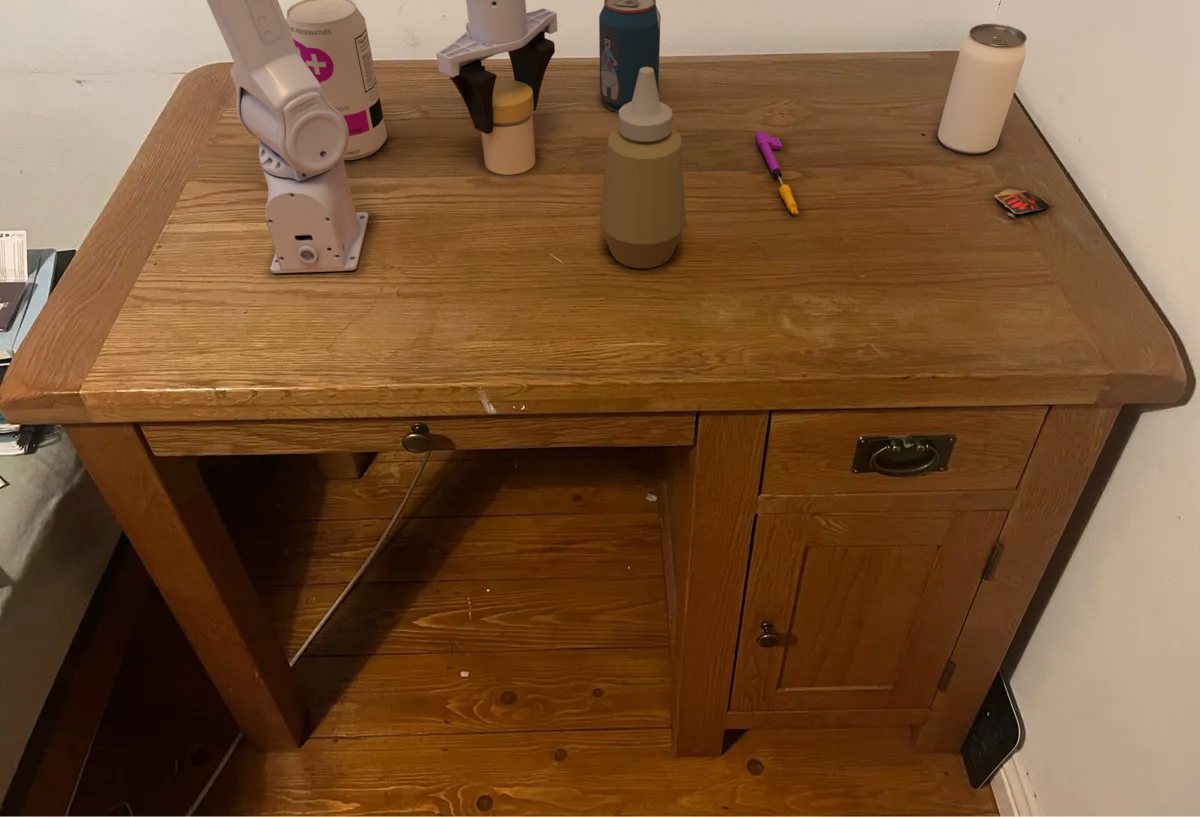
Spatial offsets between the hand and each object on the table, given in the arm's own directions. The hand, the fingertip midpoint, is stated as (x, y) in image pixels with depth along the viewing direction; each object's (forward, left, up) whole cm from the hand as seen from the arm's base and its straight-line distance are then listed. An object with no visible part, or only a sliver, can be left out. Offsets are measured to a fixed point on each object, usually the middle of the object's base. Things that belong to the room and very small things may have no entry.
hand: (506, 119), depth 97 cm
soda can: (+13, -14, -5) cm, 20 cm away
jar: (0, 0, -5) cm, 5 cm away
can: (+1, -51, -5) cm, 51 cm away
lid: (0, 0, +2) cm, 2 cm away
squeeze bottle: (-18, -13, -5) cm, 23 cm away
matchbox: (-12, -52, -5) cm, 54 cm away
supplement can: (+5, +18, -5) cm, 19 cm away
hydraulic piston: (-5, -29, -5) cm, 30 cm away
